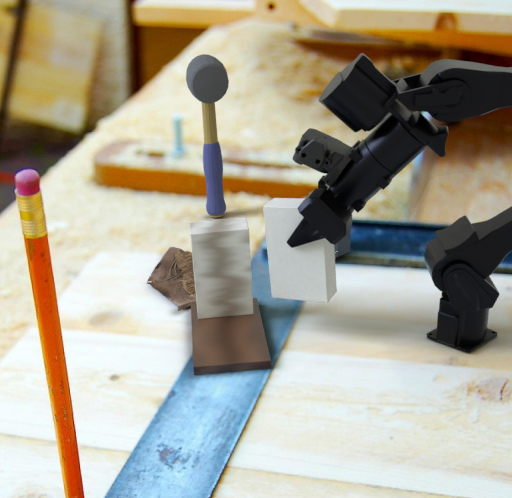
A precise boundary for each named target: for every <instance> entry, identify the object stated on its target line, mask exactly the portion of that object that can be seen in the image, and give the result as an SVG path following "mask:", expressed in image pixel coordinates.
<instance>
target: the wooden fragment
mask: <svg viewBox="0 0 512 498" xmlns="http://www.w3.org/2000/svg"><path fill="white" fill-rule="evenodd" d="M146 281H147V282H146V284H147V285H150V287H152V288H154V289H155V290H156V291H157V292H158V293H160V294H161V295H163V296H164V297H165V298H166V299H167V300H169V301H170V302H171V303H172V304H175V305H176V306H177V311H178V312H179V311H182V310H184V309H187V308H189V307H191V304H192V303H197V301H196V290H195V280H194V269H193V258H192V251H188V250H186V251H185V250H183V249H182V248H180V247H175V246H169V247H168V249H167V250H166V252H165V253H164V255H163V256H162V257H161V259H160V260H159V262H158V263H157V264H156V265H155V267H154V269H153V270H152V272H151V274H150V276H149V277H148V279H147V280H146Z"/></svg>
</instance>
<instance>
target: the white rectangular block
mask: <svg viewBox="0 0 512 498" xmlns="http://www.w3.org/2000/svg"><path fill="white" fill-rule="evenodd" d="M305 198H306V197H305ZM305 198H303V197H302V198H299V197H298V198H297V197H273V198H272V199H271V200H269V201H268V202H267V203H266V204H264V205H263V206H262V210H263V220H264V221H263V223H264V231H265V243H266V250H267V251H266V253H267V262H268V272H269V282H270V292H271V293H270V294H271V298H273V299H280V300H281V299H282V300H291V301H293V300H294V301H303V302H314V303H325V304H328V303H329V302H330V301H331V300H332V298H333V297H334V296H335V295H336V294H337V292H338V291H337V290H338V288H337V287H338V286H337V271H336V258H335V250H334V244H331V243H330V242H329V241H328V240H326V239H325V238H324V239H320V240H317V241H313V242H310V243H307V244H303V245H300V246H297V247H294V248H291V247H290V246H289V245H288V244H287V240H288V239H289V238H290V236H291V235H292V233H293V232H294V230H295V229H296V228H297V226H298V225H299V223H300V222H301V220H302V219H303V218H304V217H303V216H302V215H301V214H300V213H299V211H298V207H299V205H300V204H301V203H302V201H303V200H304V199H305Z"/></svg>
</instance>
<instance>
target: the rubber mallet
mask: <svg viewBox="0 0 512 498" xmlns="http://www.w3.org/2000/svg"><path fill="white" fill-rule="evenodd" d="M185 82H186V85H187V89H188V90H189V92H190V93H191V95H192V96H193V97H194V98H195V99H196V100H197V101H199V102H201V115H202V130H203V147H202V168H203V173H204V174H203V175H204V178H205V186H206V203H205V210H206V213H207V214H208V216H209V217H210V218H213V219H214V218H221V217H223V216H224V215H225V213H226V211H227V204H226V201H225V197H224V182H223V181H224V180H223V178H224V177H223V176H224V162H223V155H222V148H221V144H220V142H219V137H218V125H217V113H216V103H217V102H219V101H220V100H222V99H223V98H224V96H225V95H226V94H227V92H228V89H229V85H230V84H229V83H230V80H229V76H228V71H227V69H226V67H225V65H224V64H223V62H222V61H220V60H219V59H218V58H217V57H215V56H213V55H211V54H204V53H202V54H199V55H197V56H194V57H193V58H192V59H191V61H190V62H189V63H188V66H187V67H186V71H185Z"/></svg>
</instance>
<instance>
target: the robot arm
mask: <svg viewBox="0 0 512 498" xmlns="http://www.w3.org/2000/svg"><path fill="white" fill-rule="evenodd" d="M318 102H319V103H320V104H321V105H322V106H323V107H325V108H326V109H327V110H328V111H329V112H330V113H332V114H333V115H334V116H335V117H336V118H338V120H340V121H341V122H342V123H343V124H344V125H345V126H347V128H349V129H350V130H351V131H352V132H353V133H358V132H360V131H363V132H364V133H365V132H370V131H371V132H370V133H369V134H368V135H367V136H366V137H365V138H364V139H361V140H359V139H358V140H356V141H355V143H354V144H352V146H351V145H349V144H348V143H347V144H346V143H345V142H343V141H341V140H340V139H338V138H336V137H334V136H332V135H330V134H327V133H325V132H323V131H320V130H318V129H315V128H312V127H311V128H308V129H307V130H306V131H305V132H304V133H303V134H302V135H301V137H300V139H299V141H298V144H297V146H296V147H295V148H294V154H293V156H292V158H291V159H292V161H293V162H294V163H296V164H298V165H300V166H303V165H304V166H306V167H308V168H310V169H313V170H315V171H316V172H318V173H321V174H324V175H322V176H321V177H320V178H319V180H318V181H317V188H314V189H313V190H312V191H310V193H308V194H307V195H306V197H305V199H304V200H303V201H302V203H301V204H300V205H299V207H298V211H299V213H300V214H301V215H302V216H303V217H304V218H303V219H302V220H301V222H300V223H299V225H298V226H297V228H296V229H295V230H294V232H293V233H292V235H291V236H290V238H289V239H288V240H287V244H288V245H289V246H290V247H291V248H294V247H297V246H300V245H303V244H307V243H310V242H313V241H317V240H320V239H324V238H325V239H326V240H328V241H329V242H330V243H331V244H334V245H336V244H337V243H338V242H339V241H340V240H341V239H342V238H343V237H345V236H346V234H347V233H348V231H349V229H350V228H351V229H352V226H353V213H354V211H355V212H356V213H357V214H358V213H360V211H362V210H363V209H364V208H365V206H366V205H367V203H368V202H369V201H370V200H371V199H372V198H373V197H374V196H375V195H377V193H378V192H379V191H381V190H382V191H384V190H385V189H387V187H388V186H390V185H391V182H392V180H394V178H395V177H396V176H397V175H399V174H400V172H401V171H403V170H404V169H405V168H406V167H407V166H409V164H410V163H411V162H413V161H414V160H415V159H416V158H417V157H418V156H420V154H421V153H422V152H424V151H425V150H426V149H427V148H429V149H430V150H431V151H433V153H434V154H436V155H437V156H438V157H439V158H444V157H445V156H446V154H447V152H446V146H447V145H446V144H447V138H448V137H449V127H448V126H447V125H435V124H434V123H432V122H431V121H430V120H429V119H428V118H427V117H426V116H424V114H422V113H421V112H424V113H428V114H429V115H430V117H432V118H433V119H434V120H436V121H438V122H443V123H453V122H458V121H459V122H460V121H463V120H467V119H472V118H476V117H477V118H478V117H481V116H484V115H486V114H489V113H491V112H495V111H497V110H500V109H501V110H502V109H504V108H509V107H512V66H509V67H508V66H506V67H505V66H497V65H491V64H486V63H480V62H476V61H475V62H474V61H466V60H459V59H450V58H443V59H440V60H435V61H433V62H431V63H430V64H429V65H428V66H427V67H426V68H425V69H424V70H423V71H422V72H419V73H415V74H412V75H408V76H404V77H400V78H396V79H392V80H391V79H390V78H388V76H387V75H385V74H384V73H383V72H382V71H381V70H380V69H379V68H378V67H376V66H375V64H374V62H373V61H372V60H371V58H369V56H367V55H366V54H365V53H364V52H361V53H360V54H358V56H357V57H356V58H355V59H354V60H353V61H351V62H350V63H348V64H347V65H346V66H345V67H344V68H343V69H342V70H340V71H338V72H337V73H336V74H335V75H334V77H333V78H332V79H331V80H330V81H329V82H328V84H327V85H326V86H325V88H324V89H323V91H322V92H321V93H320V96H319V98H318ZM400 103H401V104H402V105H403V106H404V107H405V108H404V107H403V106H402V105H401V104H400ZM411 111H412V112H411ZM389 113H390V114H389ZM434 234H435V237H434V238H432V239H431V240H430V241H429V242H428V243H427V245H426V247H425V251H424V254H423V261H424V264H425V266H426V269H427V271H428V273H429V276H430V278H431V280H432V283H433V285H434V287H436V288H437V290H438V291H440V292H441V297H439V303H438V305H439V306H438V312H437V317H436V318H437V319H436V328H434V329H432V330H430V331H429V332H427V333H426V339H428V340H431V341H434V342H436V343H439V344H441V345H445V346H448V347H450V348H452V349H455V350H458V351H460V352H463V353H468V354H469V353H472V352H474V351H475V350H477V349H479V348H480V347H482V346H484V345H486V344H487V343H489V342H490V341H492V340H494V339H495V338H497V337H498V334H499V333H498V331H497V330H493V329H490V328H488V324H489V323H488V322H489V314H490V309H493V307H494V306H495V304H496V302H497V300H498V298H499V297H500V292H499V290H498V288H497V287H496V285H495V283H494V282H493V280H492V278H491V277H490V276H492V274H493V273H494V272H495V271H496V270H497V268H498V267H499V266H500V265H501V264H502V263H503V261H504V259H505V258H507V256H508V255H509V254H510V253H511V252H512V205H511V206H509V207H508V208H506V209H504V210H503V211H501V212H499V213H498V214H496V215H495V216H493V217H490V218H489V219H487V220H483V221H478V222H473V223H471V221H470V220H469V218H468V216H467V215H466V214H465V215H462V216H461V217H459V218H457V220H455V221H454V222H452V223H451V224H450V225H449V226H446V227H445V228H443V229H438V230H435V232H434Z"/></svg>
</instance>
